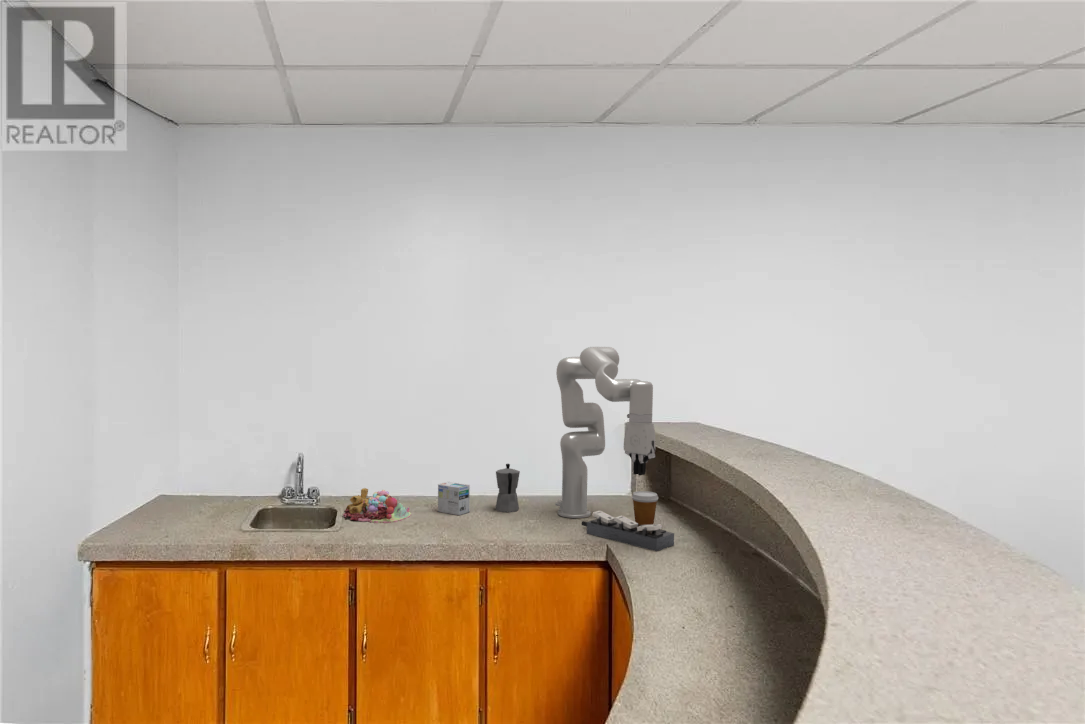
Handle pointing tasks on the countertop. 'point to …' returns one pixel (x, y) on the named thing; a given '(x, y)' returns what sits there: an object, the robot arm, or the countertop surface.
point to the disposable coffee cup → (644, 507)
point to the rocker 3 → (649, 527)
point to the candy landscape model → (376, 508)
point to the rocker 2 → (626, 522)
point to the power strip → (630, 534)
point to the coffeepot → (507, 489)
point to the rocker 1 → (603, 516)
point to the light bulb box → (453, 498)
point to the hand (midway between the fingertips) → (639, 474)
